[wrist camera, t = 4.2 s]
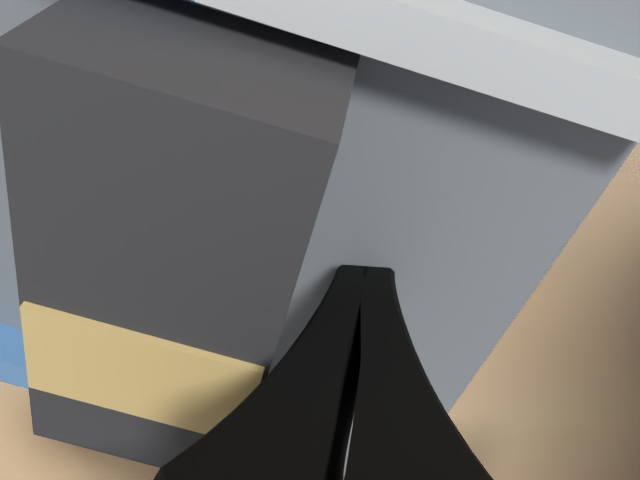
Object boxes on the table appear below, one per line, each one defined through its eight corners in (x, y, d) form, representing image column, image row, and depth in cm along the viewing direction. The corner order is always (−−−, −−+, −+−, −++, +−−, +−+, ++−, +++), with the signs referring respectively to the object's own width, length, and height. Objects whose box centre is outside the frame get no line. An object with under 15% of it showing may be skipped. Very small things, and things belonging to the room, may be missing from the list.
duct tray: (712, -14, 11) (801, 52, 8) (402, 452, 21) (399, 546, 18) (-257, -339, 10) (-495, -378, 7) (-88, 315, 20) (-162, 394, 17)
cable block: (360, 53, 11) (337, 150, 8) (263, 374, 17) (231, 492, 15) (99, -25, 11) (-16, 46, 8) (95, 329, 17) (30, 440, 14)
